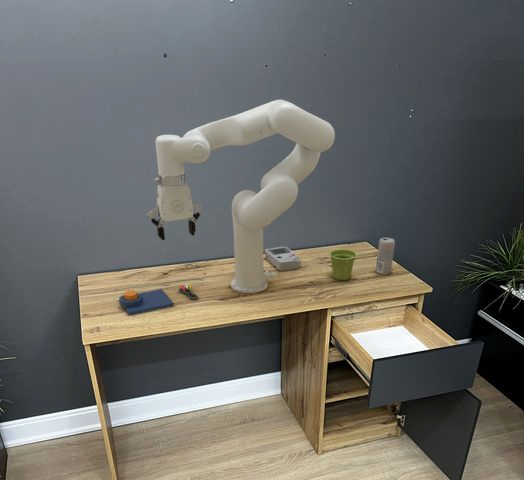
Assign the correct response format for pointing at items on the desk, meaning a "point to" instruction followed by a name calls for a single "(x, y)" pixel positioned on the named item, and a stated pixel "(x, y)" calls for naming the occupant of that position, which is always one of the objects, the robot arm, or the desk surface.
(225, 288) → the desk surface
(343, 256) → the plant pot
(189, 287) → the composite cable
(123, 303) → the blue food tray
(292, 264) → the handheld gaming device
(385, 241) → the energy drink
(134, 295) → the power button
